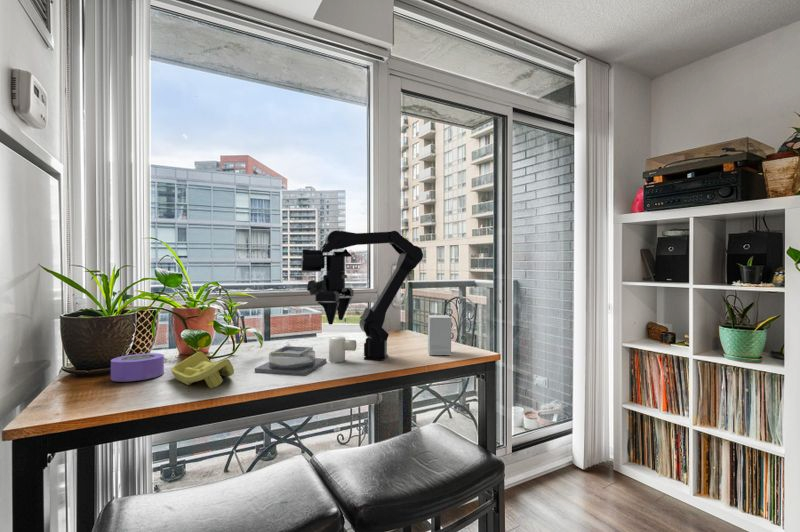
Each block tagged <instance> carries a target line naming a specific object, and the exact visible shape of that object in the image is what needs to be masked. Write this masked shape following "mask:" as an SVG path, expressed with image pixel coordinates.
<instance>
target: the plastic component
mask: <svg viewBox="0 0 800 532" xmlns="http://www.w3.org/2000/svg"><path fill="white" fill-rule="evenodd" d="M170 372H171V373H172V375H173V377H174V378H175V380H177V381H179V382H181V383H183V384H185V385H187V386H190V385H192V384H193V383H195V382H199V381H203V380H204V381H205V383H206V385H207V387H208V388H210V389H213V388H216V387H217V386H219V385H221V384H222V382H223V381H224V379H223V378H222V376H224V377H231V376H233V375H234V374H235V369H234V367H233V364H232V362H231V361H230V359H229V358H223V359H221V360H220V361H214V362H212V361H211V360H210V359H209V357H208V356H206V353H204V352H202V351H197V352H195V353H194V354H193V355H190V356H189V357H187V358H185V359H184V360H182V361H181V362H179V363H177V364H175V365H174V366H173V367H171V369H170Z"/></svg>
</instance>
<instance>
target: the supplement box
mask: <svg viewBox="0 0 800 532" xmlns="http://www.w3.org/2000/svg"><path fill="white" fill-rule="evenodd" d="M427 353H428V356H430V355H450V354H451V355H452V317H451V316H450V315H448V314H445V315H444V314H440V315H439V314H433V315H432V314H429V315H428V318H427Z"/></svg>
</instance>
